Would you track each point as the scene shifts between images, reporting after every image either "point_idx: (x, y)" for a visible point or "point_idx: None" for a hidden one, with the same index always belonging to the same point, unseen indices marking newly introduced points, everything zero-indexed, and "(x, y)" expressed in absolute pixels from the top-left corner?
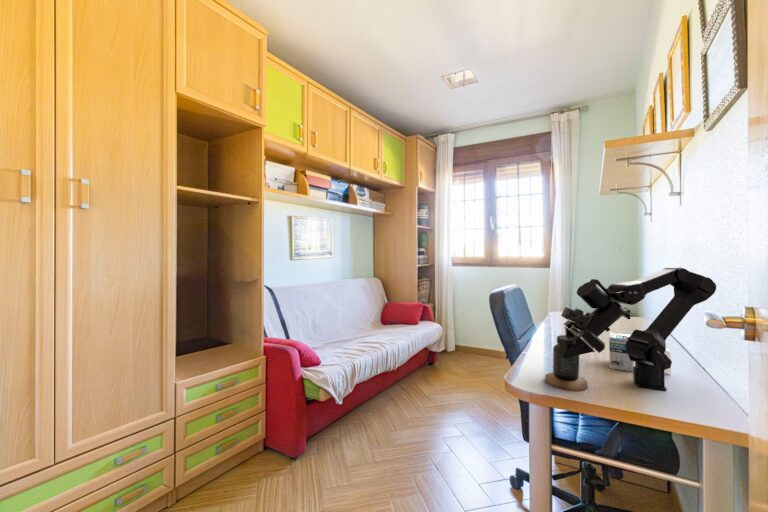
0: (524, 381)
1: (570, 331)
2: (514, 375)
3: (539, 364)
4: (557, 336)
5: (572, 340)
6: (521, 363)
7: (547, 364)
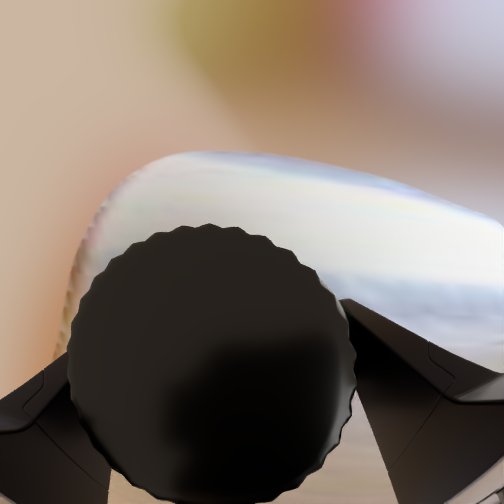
0: (209, 191)
1: (500, 455)
2: (272, 162)
3: (462, 268)
4: (233, 229)
5: (93, 436)
6: (437, 202)
7: (475, 299)
